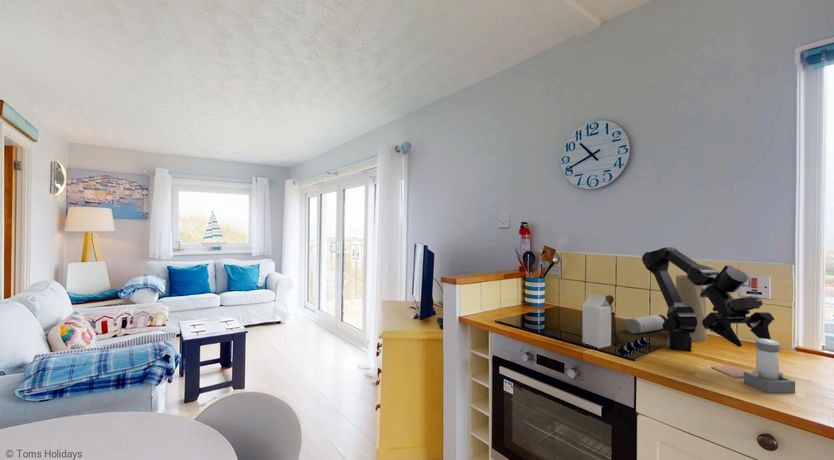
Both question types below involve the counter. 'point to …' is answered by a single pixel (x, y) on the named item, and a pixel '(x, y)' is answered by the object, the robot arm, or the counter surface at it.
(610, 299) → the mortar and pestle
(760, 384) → the cartridge housing
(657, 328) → the travel mug
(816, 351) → the counter surface
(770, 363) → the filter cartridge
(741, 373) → the mat
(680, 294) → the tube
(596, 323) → the milk carton
